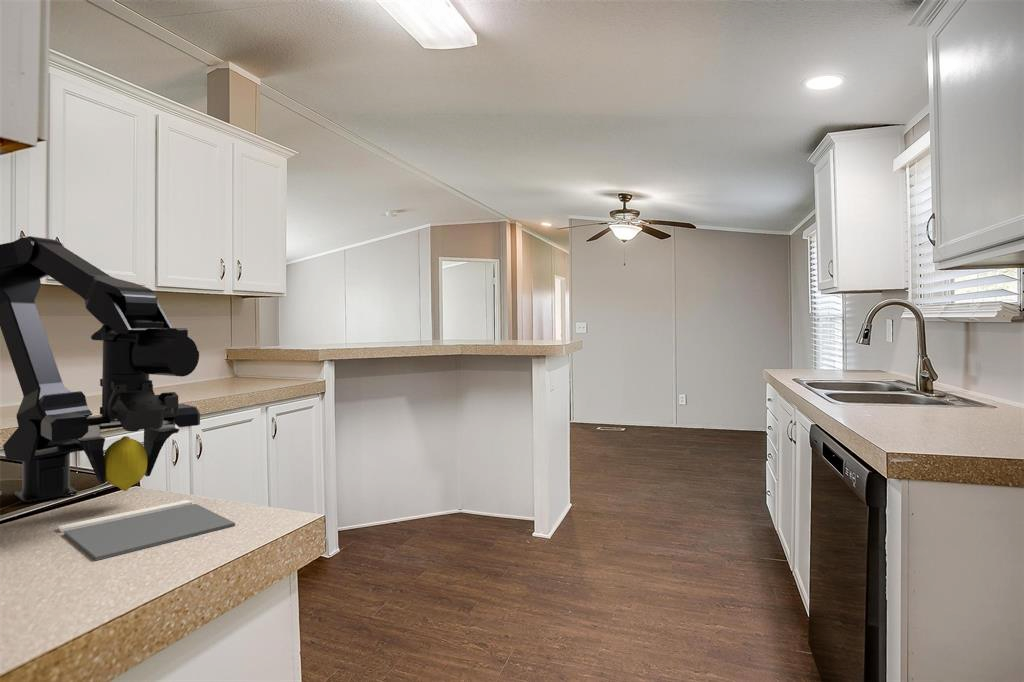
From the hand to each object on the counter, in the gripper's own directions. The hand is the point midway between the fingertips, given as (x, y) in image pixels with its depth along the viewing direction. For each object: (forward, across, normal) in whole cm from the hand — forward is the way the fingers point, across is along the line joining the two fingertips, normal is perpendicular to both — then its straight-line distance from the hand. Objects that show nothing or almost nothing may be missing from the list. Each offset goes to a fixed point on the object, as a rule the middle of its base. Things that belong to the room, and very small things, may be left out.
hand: (125, 479), depth 87 cm
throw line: (+4, -1, -5) cm, 6 cm away
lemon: (+2, 0, 0) cm, 2 cm away
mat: (+4, -1, -13) cm, 14 cm away
